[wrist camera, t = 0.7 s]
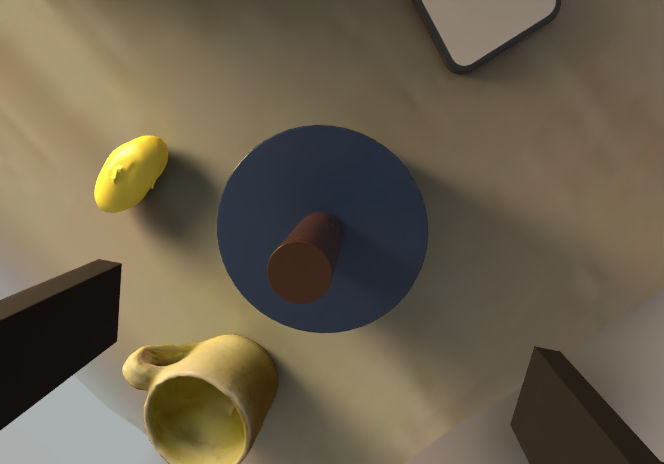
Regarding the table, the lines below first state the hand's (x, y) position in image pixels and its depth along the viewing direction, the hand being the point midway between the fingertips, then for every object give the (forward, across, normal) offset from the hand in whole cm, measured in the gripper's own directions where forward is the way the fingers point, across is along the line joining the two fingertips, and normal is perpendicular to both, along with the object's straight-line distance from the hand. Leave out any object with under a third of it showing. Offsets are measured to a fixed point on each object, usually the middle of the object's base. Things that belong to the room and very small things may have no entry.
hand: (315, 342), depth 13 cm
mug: (+23, -10, -16) cm, 30 cm away
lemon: (+23, -19, +1) cm, 29 cm away
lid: (+14, -2, 0) cm, 14 cm away
